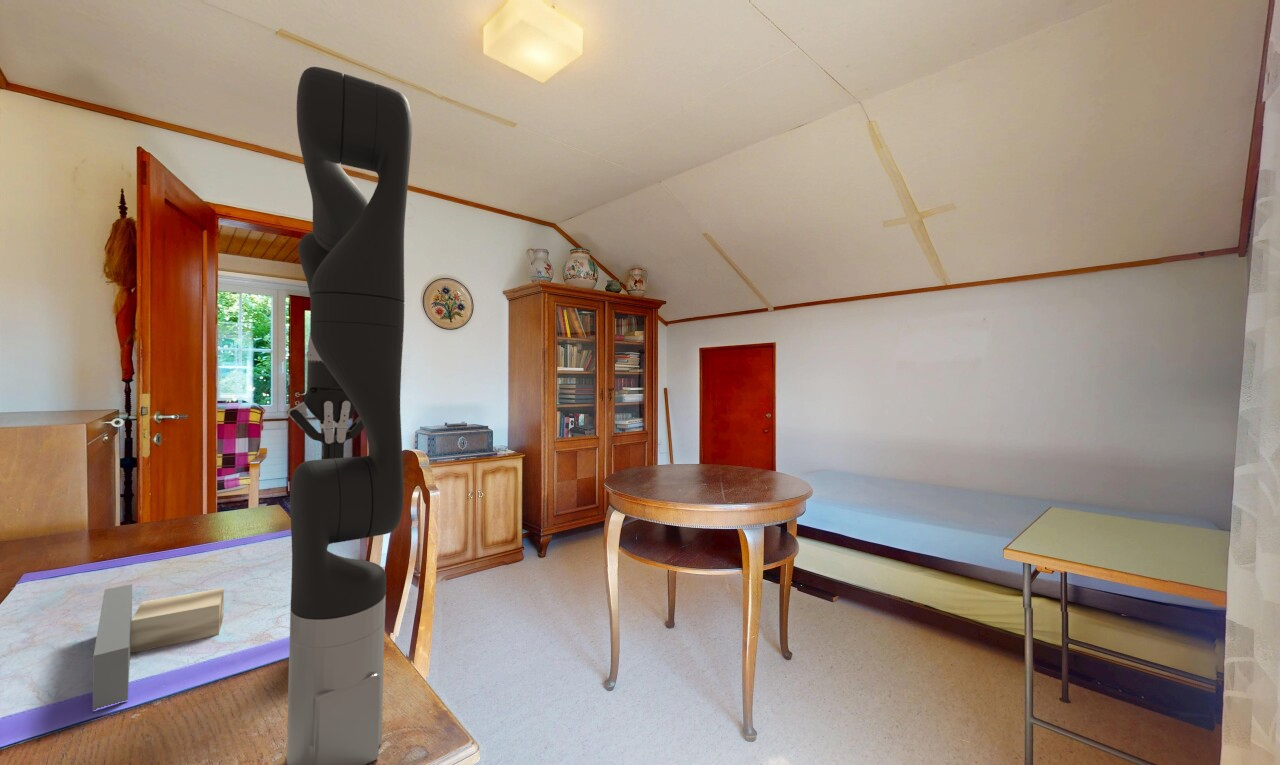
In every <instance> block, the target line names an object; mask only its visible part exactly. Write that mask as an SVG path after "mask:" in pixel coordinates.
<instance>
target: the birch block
mask: <svg viewBox="0 0 1280 765" xmlns="http://www.w3.org/2000/svg"><path fill="white" fill-rule="evenodd" d="M224 607H225V587H221V588H216V589H210V590H203V591H199V592H197V591H196V592H192V593H187V594H179V595H174V596H169V597H161V598H156V599H151V600H146V601H145V600H144V601H141V603H140V605H139V607H138V609H137V610H136V612H135V614H134V615H133V616H132V620H131V646H130V654H132V653H135V652H141V651H145V650H151V649H154V648H159V647H165V646H169V645H174V644H175V645H176V644H179V643H183V642H188V641H193V640H194V641H195V640H198V639H203V638H208V637H213V636H218V635H220V631H221V628H222V624H223V619H224V613H225V611H224V609H225V608H224Z"/></svg>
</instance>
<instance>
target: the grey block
mask: <svg viewBox="0 0 1280 765" xmlns="http://www.w3.org/2000/svg"><path fill="white" fill-rule="evenodd" d="M102 598H103V599H102V604H101V610H100V615H99V622H98V629H97V633H96V638H95V639H96V640H95V645H94V650H93V651H94V652H93V656H92V657H93V660H92V661H93V663H92V664H93V666H92V668H93V669H92V670H93V672H92V674H93V675H92V711H93V710H96V709H97V708H101V707H104V706H108V705H111V704H115V703H118V702H122V701H126V700H128V701H129V686H130V685H129V683H130V682H129V679H130V663H131V662H130V661H131V653H130V652H131V620H132V618H133V613H132V612H133V611H132V610H133V609H132V608H133V584H131V583H130V584H127V585H120V586H116V587H110V588H106V589H104V592H103V597H102Z"/></svg>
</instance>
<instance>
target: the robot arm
mask: <svg viewBox="0 0 1280 765" xmlns="http://www.w3.org/2000/svg"><path fill="white" fill-rule="evenodd" d="M296 95H297V96H296V126H297V127H296V128H297V135H298V141H299V146H300V150H301V151H300V152H301V155H302V160H303V165H304V170H305V175H306V179H307V182H308V187H309V189H310V190H309V191H310V194H311V200H312V201H311V202H312V231H311V232H310V231H309V232H308V233H305V235H304V236H302V237H301V239H300V241H299V244H298V246H297V247H298V249H297V250H298V252H297V253H298V257H299V261H300V264H301V268H302V271H303V274H304V276H305V279H306V283H307V284H306V285H307V288H308V292H309V299H310V318H309V323H310V325H309V328H310V332H309V336H308V342H307V344H308V345H307V351H306V357H307V366H306V367H307V370H306V371H307V374H306V375H307V376H306V379H307V380H306V382H307V383H306V392H305V394H304V395H303V397H302V402H301V403H299V404H297V405H296V406H295V407H292V408H291V407H290V408H288V409H287V410H286V415H288V416H289V417H290V419H291V420H292V421H293V422H294V423H295V424H296V425H297V426H298V427H299V428H300V429H301V430H302V431H303V433H305V434H306V435H307V436H308V437H309V438H310V439H312V440H313V441H317V442H320V443H321V459H314V460H313V459H312V460H306V461H303V462H301V463H299V465H298V466H297V467H296V468H295V470H294V472H293V475H292V477H291V482H290V491H289V512H290V514H289V516H290V518H289V519H290V531H291V532H290V535H291V586H290V587H291V588H290V613H289V614H290V615H289V616H290V617H289V620H290V621H289V644H288V646H289V647H288V648H289V649H288V650H289V652H288V687H287V688H288V692H287V696H288V697H287V725H286V726H287V729H286V730H287V733H286V736H287V737H286V739H287V740H286V742H287V743H286V765H367V764H370V763H372V762H374V761H376V760H378V758H379V748H380V745H381V743H382V739H383V711H384V709H383V708H384V707H383V706H384V705H383V704H384V702H383V701H384V700H383V698H384V670H385V668H384V663H385V662H384V661H385V628H386V624H385V623H386V621H385V620H386V601H387V600H386V598H387V595H386V594H387V574H386V571H385V569H384V568H383V567H382V566H381V565H380V564H377V563H375V562H373V561H370V560H369V561H368V560H363V559H356V558H349V557H343V556H341V555H338V554H335V553H332V552H330V551H329V550H328V547H329V545H331V544H338V543H342V542H349V541H350V542H351V541H355V540H362V539H367V538H368V539H369V538H372V537H373V538H374V537H378V536H382V535H383V536H384V535H387V534H391V533H392V532H394V531H395V530H396V529H397V528H398V526H399V524H400V522H401V519H402V515H403V509H404V497H405V496H404V495H405V494H404V493H405V492H404V491H405V490H404V488H405V487H404V486H405V484H404V464H403V463H404V462H403V461H404V460H403V441H402V439H403V438H402V437H403V436H402V419H401V418H402V417H401V389H402V388H401V386H402V384H401V382H402V361H403V346H404V331H405V330H404V329H405V227H406V226H405V221H406V209H407V197H408V187H409V186H408V185H409V174H410V162H411V154H412V153H411V152H412V136H413V135H412V134H413V121H412V111H411V106H410V102H409V100H408V99H407V97H406V95H405V94H403V93H402V92H400V91H399V90H398V91H397V89H396V90H395V89H393V88H391V87H387V86H384V85H381V84H378V83H375V82H372V81H369V80H366V79H364V78H363V79H362V78H358V77H356V76H353V75H350V74H346V73H344V74H343V72H339V71H337V70H332V69H329V68H325V67H320V66H319V67H318V66H310V67H308V68H306V69H305V70H303V72H302V74H301V75H300V78H299V82H298V85H297V94H296ZM341 165H343V166H347V167H351V168H357V169H361V170H366V171H370V172H373V173H375V174H377V176H378V179H377V185H376V187H375V188H374V192H373V193H372V196H371V198H370V199H369V201H368V199H366V197H365V195H364V193H363V192H362V190H361V189H360V188H359V186H358V185H357V184H356V183H355V182H354V181H353V180H352V178H351V177H350V176H349V175H348V174H347V173H346V171H345V170H344V168H342V166H341ZM307 410H309V412H310V413H311V414H312V415H313V416H314V418H315V419H316V420H318V422H319V429H320V432H319V431H318V430H317V429H316V428H315V427H314V426H313V425H312V424H311V423H310V422H309V420H308V419H307V418H308V416H309V415H308V412H307ZM356 412H357V415H358V417H357V418H356V419H355V420H354V421H353V422H352V424H351V425H350V426H349V420H350V419H352V418H353V417H354V415H355V414H356ZM348 426H349V427H348ZM363 430H364V431H365V435H366V439H367V446H368V454H367V456H366V455H363V456H351V457H350V456H349V457H344V454H345V453H344V452H345V451H344V450H345V442H346V441H348V440H350V439H356V438H357V437H358V436H359V434H361V432H363Z"/></svg>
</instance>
